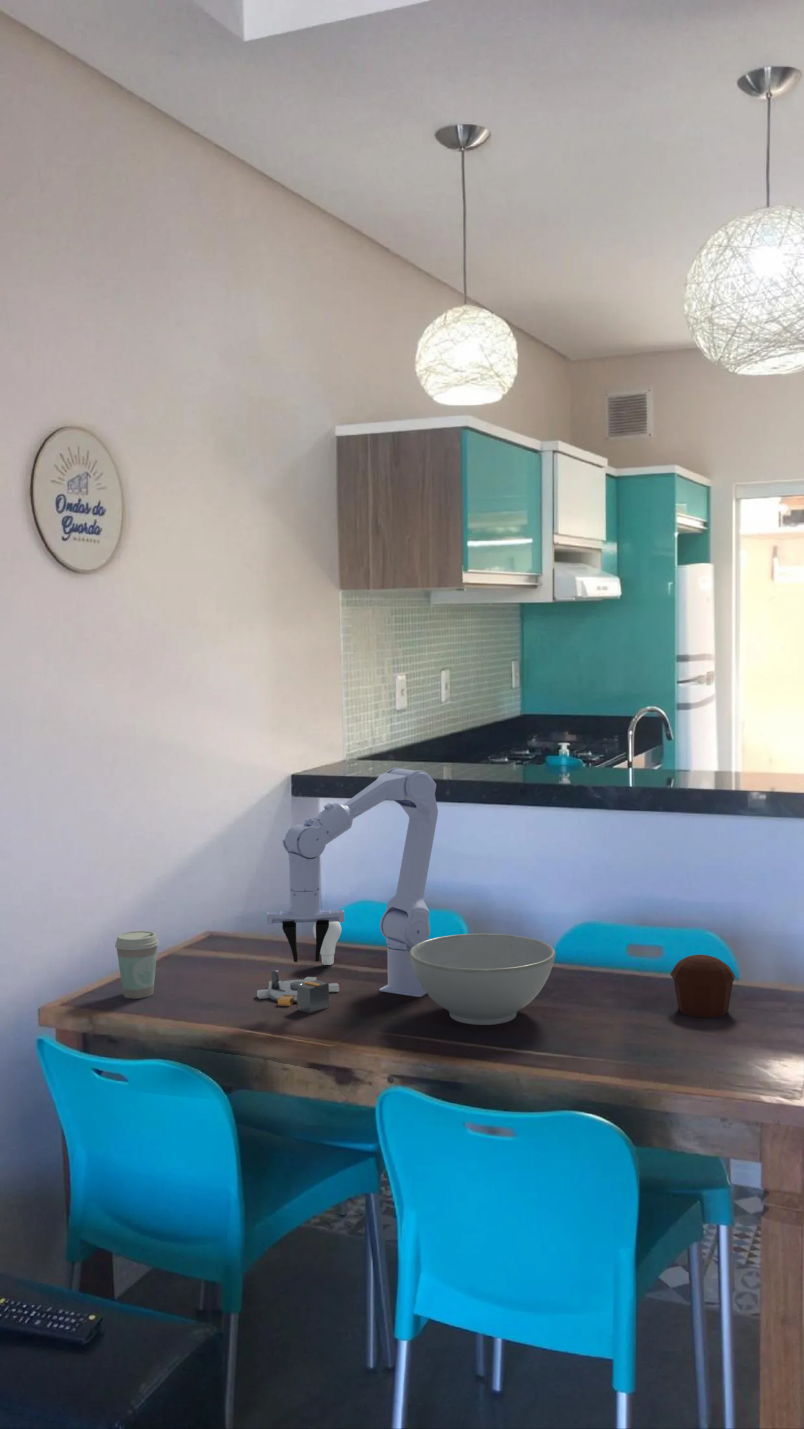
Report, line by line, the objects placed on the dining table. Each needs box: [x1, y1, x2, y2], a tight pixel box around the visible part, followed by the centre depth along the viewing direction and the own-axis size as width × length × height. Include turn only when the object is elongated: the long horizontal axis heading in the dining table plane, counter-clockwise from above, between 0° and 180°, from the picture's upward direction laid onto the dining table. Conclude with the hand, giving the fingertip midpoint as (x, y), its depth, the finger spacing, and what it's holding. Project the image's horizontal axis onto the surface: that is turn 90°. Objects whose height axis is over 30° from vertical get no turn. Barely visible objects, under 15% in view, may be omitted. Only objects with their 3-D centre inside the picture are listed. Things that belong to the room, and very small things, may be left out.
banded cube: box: [296, 979, 330, 1014], centre depth 224 cm, size 3×5×5 cm
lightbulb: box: [312, 921, 342, 966], centre depth 256 cm, size 6×6×11 cm
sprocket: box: [256, 969, 340, 1007], centre depth 234 cm, size 16×16×5 cm
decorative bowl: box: [410, 933, 556, 1026], centre depth 219 cm, size 27×27×12 cm
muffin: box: [670, 954, 736, 1019], centre depth 220 cm, size 12×11×10 cm
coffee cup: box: [114, 930, 160, 1000], centre depth 236 cm, size 8×8×12 cm
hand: (306, 960), depth 224 cm, fingers open, 3 cm apart
